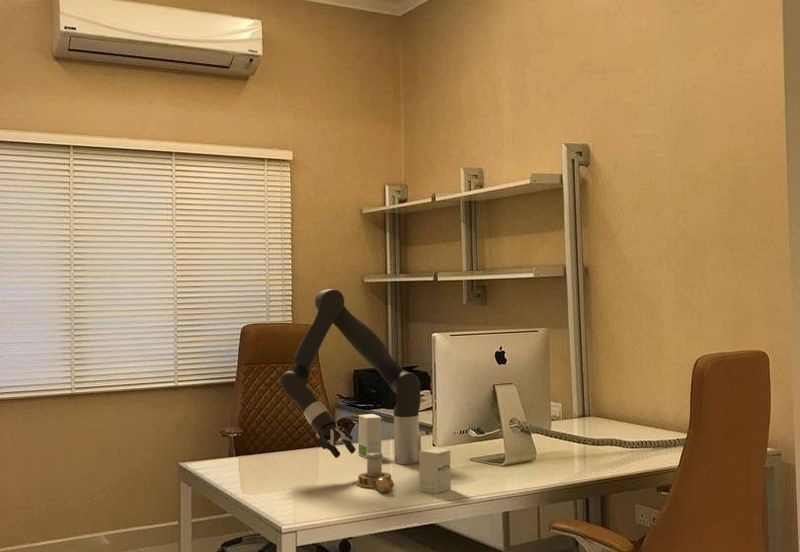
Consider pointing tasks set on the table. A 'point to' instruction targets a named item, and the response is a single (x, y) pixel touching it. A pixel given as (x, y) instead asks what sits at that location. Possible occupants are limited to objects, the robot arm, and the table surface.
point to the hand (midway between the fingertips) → (346, 454)
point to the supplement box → (434, 470)
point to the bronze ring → (376, 482)
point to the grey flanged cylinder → (374, 464)
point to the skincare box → (369, 434)
